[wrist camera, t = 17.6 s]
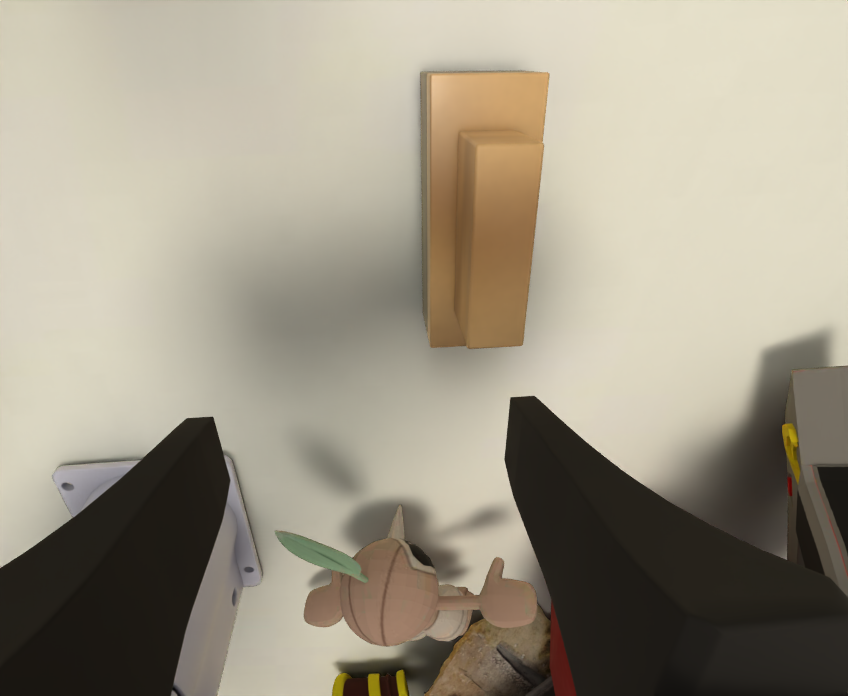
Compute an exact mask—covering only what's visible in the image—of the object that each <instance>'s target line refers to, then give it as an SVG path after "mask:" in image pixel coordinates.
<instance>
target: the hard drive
mask: <svg viewBox="0 0 848 696" xmlns="http://www.w3.org/2000/svg"><path fill="white" fill-rule="evenodd" d="M525 696H555V691H554V686H553V681H552V676H550V677H549V678H547V679H546V680H545V681H544V682H542V683H541V684H540V685H538V686H537V687H535V688H534V689H533V690H532V691H530V692H529V693H527V694H526V695H525Z"/></svg>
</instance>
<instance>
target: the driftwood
mask: <svg viewBox="0 0 848 696" xmlns="http://www.w3.org/2000/svg"><path fill="white" fill-rule="evenodd" d="M550 634H551V621H550V620H549V619H548V618H546V616H545V614H544V612H543V611H542V609H541V607H540V606H538V605H537V616H536V618H535V619H534V621H533V622H531V623H530V624H527V625H524V626H520V627H513V628H501V627H497V626H495V625H493V624H491V623H489V622H488V621H487V620H486V619H485V618H484V619H482V620H480V621H478V622H476V623H474V624H472V625H470V627H469V629H468V631H467V632H466V633H465V635H464V636H463V637H462V638H461V639H460V640H459V641H457V642H456V644H455V645H454V648H453V651H452V652H451V654H450V656H449V657H448V658H447V659H446V660H445V661H444V663H443V666H442V667H441V669H440V673H439V675H438V676H437V678H436V679H435V681H434V684H433V685H432V686H431V687H430V689H429V690H428V691H427V693H426V692H424V693H425V695H424V696H525V695H526V694H527V693H529V692H530V691H532V690H533V689H534V688H535V687H537V686H538V685H540V684H541V683H542V682H544V681H545V680H546V679H547V678H549V677H550V676H551V671H550ZM441 665H442V664H441Z"/></svg>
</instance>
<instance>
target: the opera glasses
mask: <svg viewBox="0 0 848 696" xmlns="http://www.w3.org/2000/svg"><path fill="white" fill-rule="evenodd" d="M332 696H409V691H408V686H407V681H406V677H405V673H404V670H400V671H397V673H396V676H390V675H389V674H386V676H385V677H381V676H380V674H369V675H368V678H351V676H350V675H349V674H347V673H342V674H340V675H338V676H337V678H336V679H335V682H334V685H333V690H332Z"/></svg>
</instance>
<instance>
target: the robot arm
mask: <svg viewBox="0 0 848 696" xmlns="http://www.w3.org/2000/svg"><path fill="white" fill-rule="evenodd" d="M505 464H506V468H507V472H508V477H509V481H510V485H511V489H512V493H513V496H514V499H515V502H516V505H517V507H518V510H519V513H520V515H521V518H522V521H523V523H524V526H525V528H526V531H527V534H528V536H529V539H530V541H531V544H532V547H533V549H534V552H535V554H536V557H537V560H538V562H539V565H540V567H541V570H542V572H543V575H544V578H545V581H546V584H547V587H548V590H549V593H550V596H551V599H552V603H553V607H554V610H555V614H556V618H557V621H558V625H559V628H560V632H561V636H562V640H563V643H564V647H565V651H566V655H567V659H568V663H569V667H570V671H571V674H572V678H573V682H574V687H575V691H576V695H577V696H848V693H847V692H846V691H847V690H848V597H847V596H846V594H845V593H844V592H843V591H842V590H841V589H840V588H839V587H838V586H837V585H836V583H835V582H834V581H833V580H832V579H831V578H830V577H827V576H825V575H822V574H820V573H818V572H815V571H813V570H810V569H808V568H805V567H803V566H800V565H798V564H795V563H793V562H790V561H788V560H785V559H783V558H780V557H778V556H776V555H773V554H771V553H768V552H766V551H764V550H762V549H759V548H757V547H755V546H753V545H751V544H749V543H747V542H745V541H742V540H740V539H738V538H736V537H734V536H732V535H730V534H728V533H726V532H724V531H722V530H720V529H718V528H716V527H714V526H712V525H710V524H708V523H706V522H704V521H703V520H701V519H699V518H697V517H695V516H694V515H692V514H690V513H688V512H686V511H684V510H683V509H681V508H679V507H677V506H676V505H674V504H672V503H671V502H669V501H667V500H666V499H664V498H662V497H661V496H659V495H658V494H656V493H655V492H653V491H652V490H650V489H649V488H647V487H645V486H644V485H642V484H641V483H639V482H638V481H636V480H635V479H633V478H632V477H631V476H629V475H628V474H626V473H625V472H624V471H622V470H621V469H620V468H618V467H617V466H616V465H614V464H613V463H612V462H610V461H609V460H608V459H606V458H605V457H604V456H603V455H601V454H600V453H599V452H598V451H596V450H595V449H594V448H593V447H591V446H590V445H589V444H588V443H587V442H585V441H584V440H583V439H582V438H581V437H580V436H578V435H577V434H576V433H575V432H574V431H573V430H572V429H570V428H569V427H568V426H567V425H566V424H565V423H564V422H563V421H562V420H560V419H559V418H558V417H557V416H556V415H555V414H554V413H553V412H552V411H551V410H550V409H548V408H547V407H546V406H545V405H544V404H543V403H542V402H541V401H540V400H539V399H537V398H536V397H535V396H527V397H511V399H510V409H509V419H508V429H507V440H506V450H505ZM52 478H53V480H54V482H55V484H56V486H57V488H58V490H59V492H60V494H61V496H62V498H63V500H64V502H65V504H66V506H67V508H68V509H69V511H70V513H71V515H72V517H73V518H72V519H71V520H69V521H68V522H67V523H65V524H64V525H63V526H61V527H60V528H59V529H57V530H56V531H54V532H53V533H52V534H50V535H49V536H47V537H46V538H45V539H43V540H42V541H40V542H39V543H38V544H36V545H35V546H33V547H32V548H31V549H29V550H28V551H26V552H25V553H23V554H22V555H20V556H19V557H17V558H15V559H14V560H12V561H11V562H9V563H8V564H6V565H4V566H3V567H1V568H0V696H217V694H218V690H219V687H220V682H221V678H222V674H223V670H224V665H225V661H226V657H227V653H228V648H229V644H230V640H231V636H232V632H233V627H234V623H235V619H236V615H237V610H238V606H239V602H240V598H241V593H242V589H243V587H252V586H257V585H259V584H260V583H261V581H262V571H261V568H260V564H259V560H258V556H257V552H256V549H255V545H254V541H253V537H252V534H251V530H250V526H249V522H248V519H247V515H246V511H245V507H244V504H243V500H242V496H241V492H240V488H239V485H238V481H237V477H236V473H235V470H234V466H233V462H232V460H231V459H230V458H229V457H228V456H226V455H224V454H223V451H222V447H221V443H220V440H219V436H218V432H217V429H216V425H215V421H214V418H213V417H201V418H187V419H186V420H184V421H183V422H182V423H181V424H180V425H179V426H177V427H176V428H175V429H174V430H173V431H172V432H171V433H170V434H169V435H168V436H167V437H165V438H164V439H163V440H162V441H161V442H160V443H159V444H158V445H157V446H156V447H155V448H154V449H153V450H152V451H150V452H149V453H148V454H147V455H146V456H145V457H144V458H143V459H142V460H134V461H120V462H106V463H92V464H77V465H63V466H59V467H58V468H57V469H56V470H55V471H54V473H53V475H52ZM69 483H70V484H69Z"/></svg>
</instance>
